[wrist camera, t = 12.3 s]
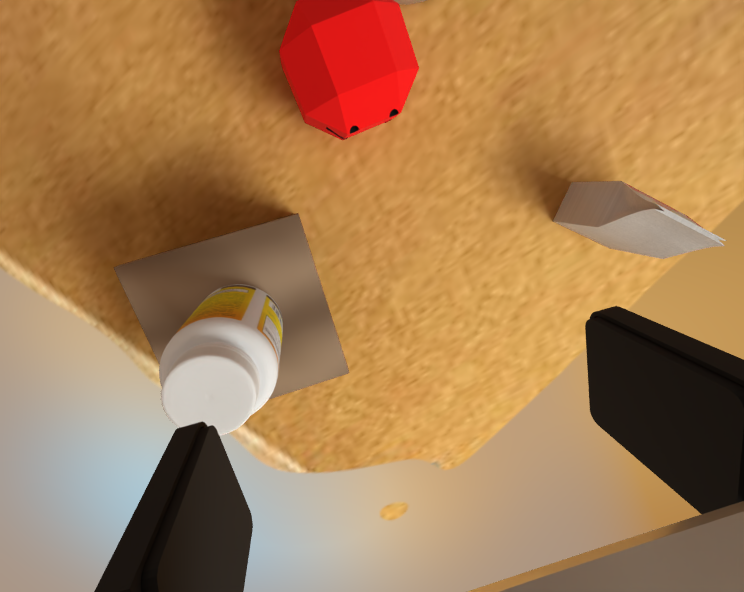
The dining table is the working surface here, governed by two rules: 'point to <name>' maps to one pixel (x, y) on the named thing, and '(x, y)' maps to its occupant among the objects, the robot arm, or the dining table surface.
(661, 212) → the white carton
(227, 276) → the walnut box
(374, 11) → the ball
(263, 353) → the supplement bottle
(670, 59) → the dining table surface
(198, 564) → the robot arm
